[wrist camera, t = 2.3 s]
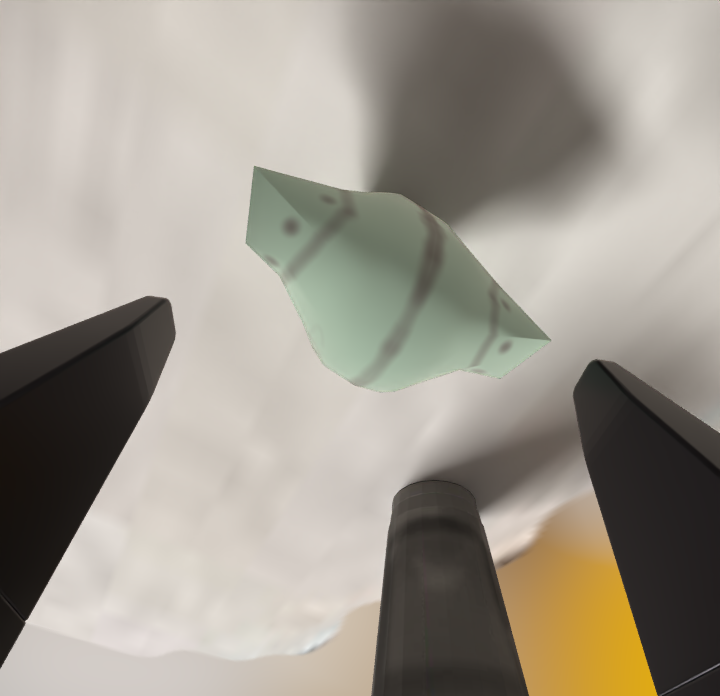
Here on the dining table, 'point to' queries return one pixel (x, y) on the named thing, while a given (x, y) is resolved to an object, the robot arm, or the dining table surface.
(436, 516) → the beverage cup
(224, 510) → the dining table surface
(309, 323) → the grey-green angular piece
